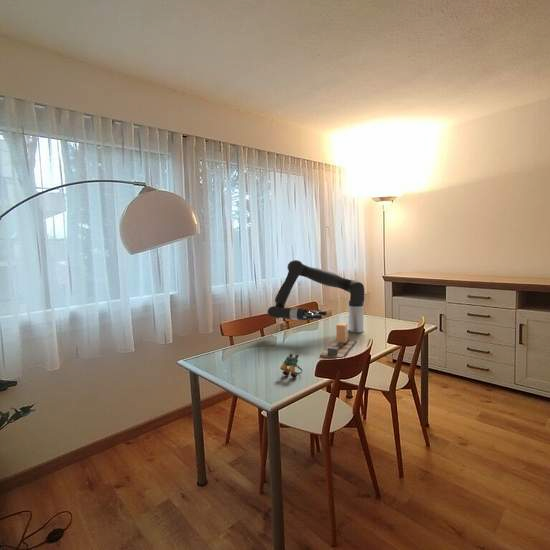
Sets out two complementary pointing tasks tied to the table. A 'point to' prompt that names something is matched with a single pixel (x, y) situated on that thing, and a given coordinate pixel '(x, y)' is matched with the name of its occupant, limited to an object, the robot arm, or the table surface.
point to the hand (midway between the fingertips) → (323, 315)
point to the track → (338, 349)
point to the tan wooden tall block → (342, 332)
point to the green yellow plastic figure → (292, 363)
